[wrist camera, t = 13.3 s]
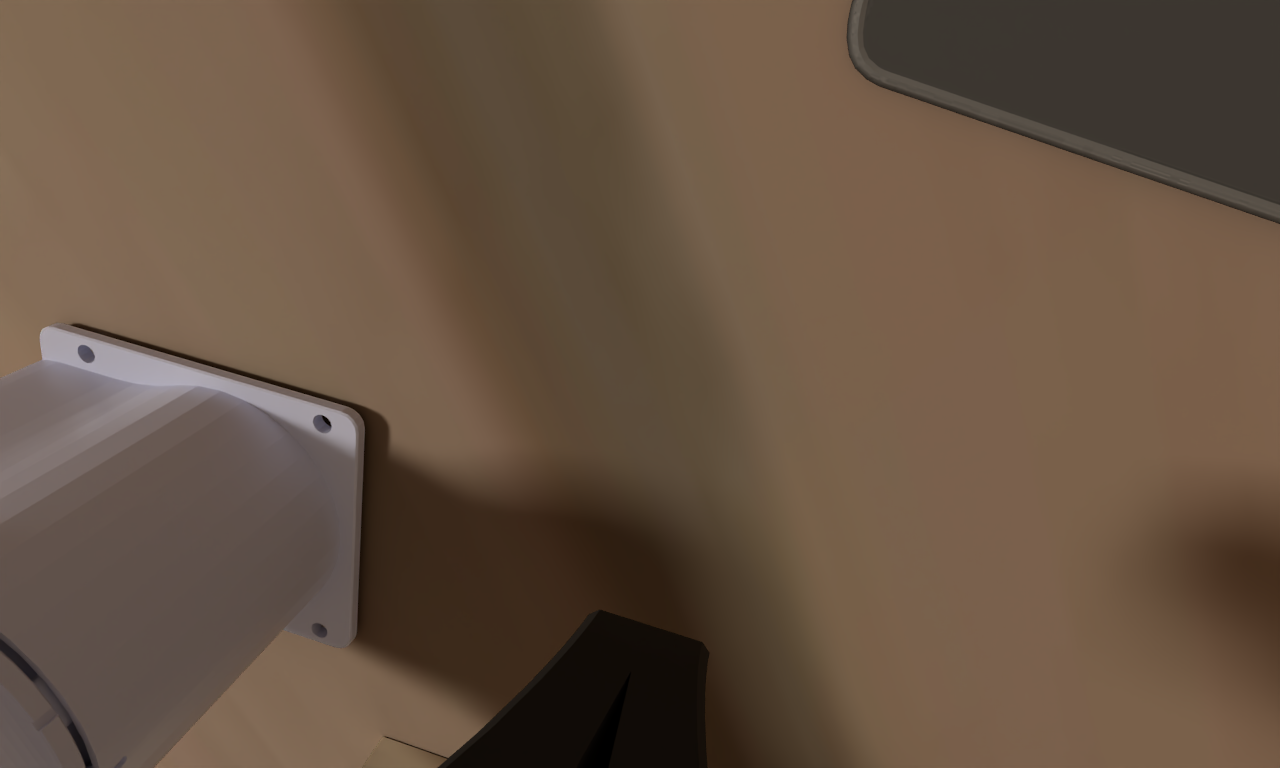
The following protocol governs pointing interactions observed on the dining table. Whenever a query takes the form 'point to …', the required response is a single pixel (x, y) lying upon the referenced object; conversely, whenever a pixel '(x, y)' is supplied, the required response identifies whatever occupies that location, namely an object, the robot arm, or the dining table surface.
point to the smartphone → (1100, 81)
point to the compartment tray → (401, 756)
